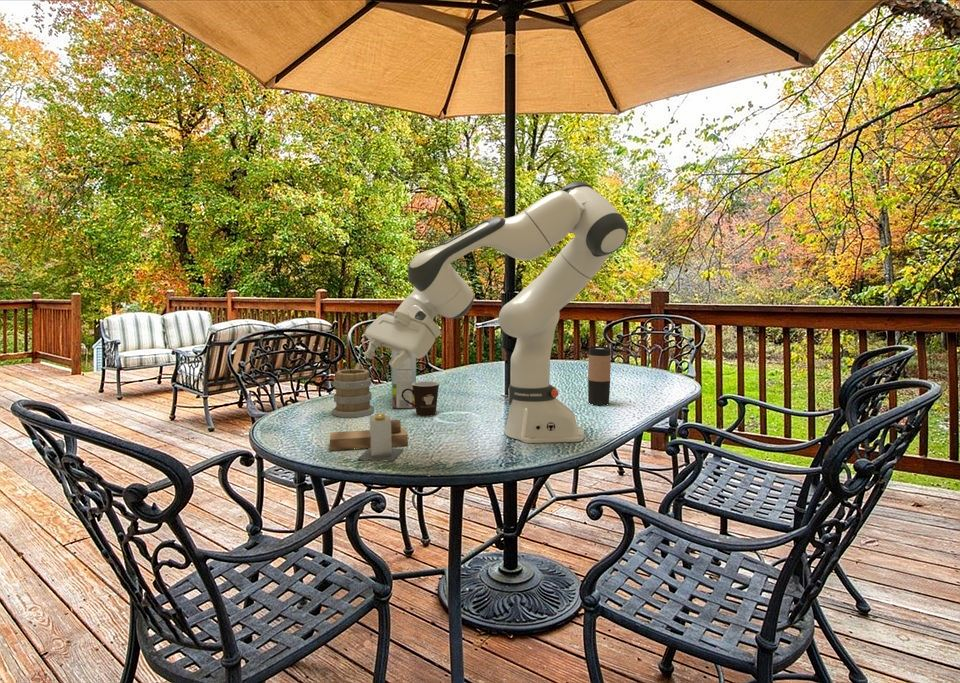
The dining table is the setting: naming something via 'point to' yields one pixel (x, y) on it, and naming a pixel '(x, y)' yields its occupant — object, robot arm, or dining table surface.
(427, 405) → the coffee mug
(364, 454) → the mat
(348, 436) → the body
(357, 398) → the tankard
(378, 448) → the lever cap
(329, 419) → the dining table surface
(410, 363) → the snack box
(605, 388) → the travel mug
